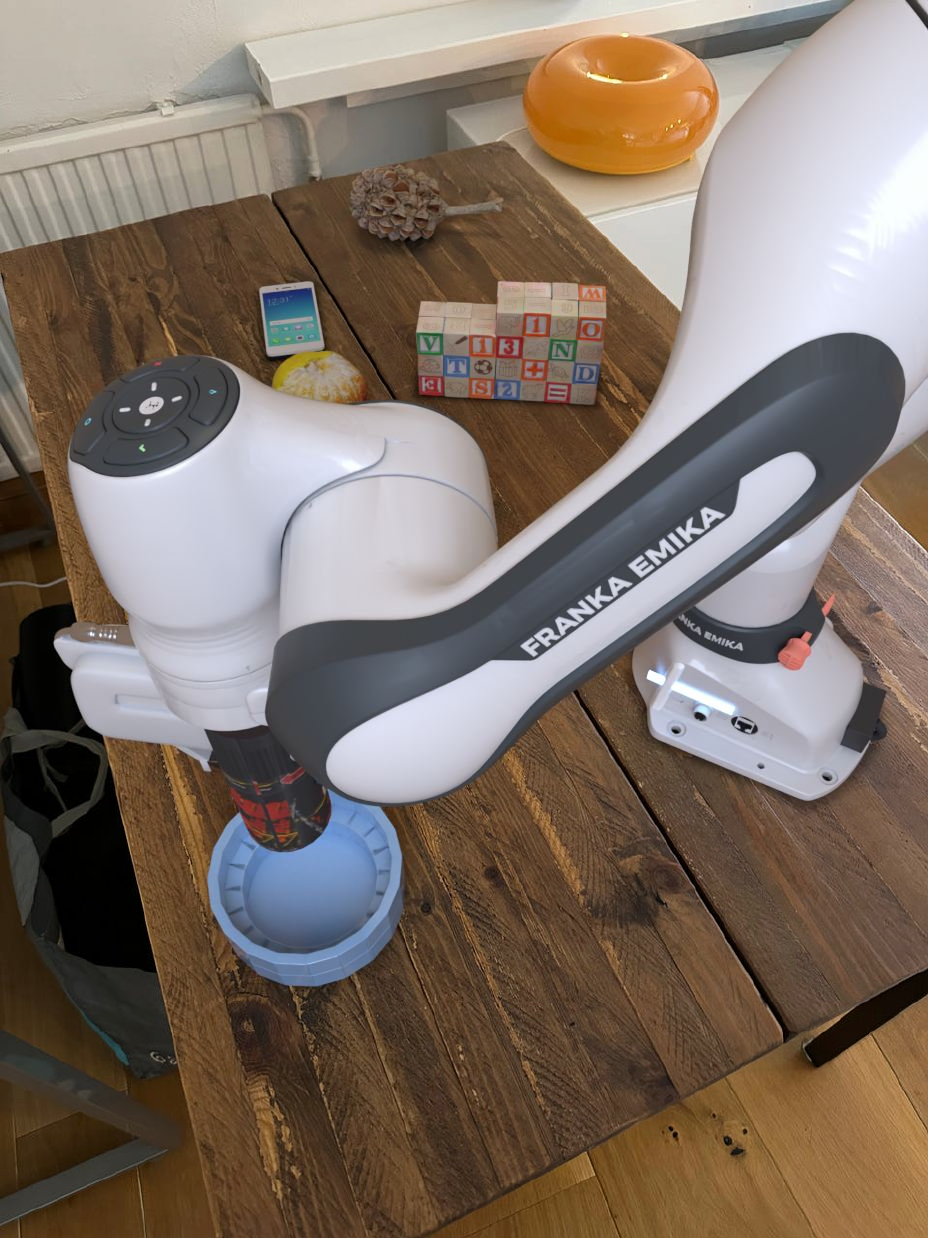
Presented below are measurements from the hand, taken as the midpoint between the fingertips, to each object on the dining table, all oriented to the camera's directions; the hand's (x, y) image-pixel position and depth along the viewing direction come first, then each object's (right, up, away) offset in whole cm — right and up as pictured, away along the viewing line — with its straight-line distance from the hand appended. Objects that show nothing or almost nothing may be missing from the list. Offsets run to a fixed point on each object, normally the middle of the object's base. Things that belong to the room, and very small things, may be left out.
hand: (275, 769), depth 60 cm
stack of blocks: (+17, +38, +55) cm, 70 cm away
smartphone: (-10, +48, +63) cm, 80 cm away
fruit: (-5, +35, +53) cm, 63 cm away
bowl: (0, -13, +16) cm, 21 cm away
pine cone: (+7, +65, +76) cm, 100 cm away
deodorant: (0, -4, +5) cm, 6 cm away
